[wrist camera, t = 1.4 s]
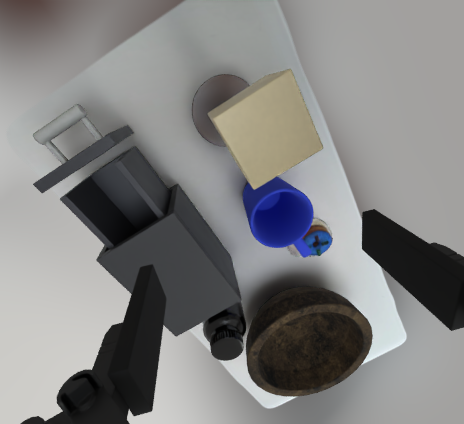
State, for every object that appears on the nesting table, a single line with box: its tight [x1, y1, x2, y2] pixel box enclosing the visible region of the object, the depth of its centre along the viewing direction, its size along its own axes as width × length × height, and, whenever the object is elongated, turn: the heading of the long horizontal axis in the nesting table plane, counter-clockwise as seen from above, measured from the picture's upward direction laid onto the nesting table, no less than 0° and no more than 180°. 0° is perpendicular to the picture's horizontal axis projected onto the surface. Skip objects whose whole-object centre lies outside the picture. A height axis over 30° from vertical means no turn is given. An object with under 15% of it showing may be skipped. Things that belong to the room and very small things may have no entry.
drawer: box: [33, 104, 171, 249], centre depth 33 cm, size 19×10×9 cm, turn 30°
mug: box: [243, 177, 313, 257], centre depth 38 cm, size 8×12×10 cm
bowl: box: [246, 287, 373, 396], centre depth 49 cm, size 22×22×10 cm
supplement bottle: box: [203, 301, 246, 361], centre depth 43 cm, size 7×7×12 cm
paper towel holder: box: [192, 74, 250, 147], centre depth 28 cm, size 9×9×18 cm
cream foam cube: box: [208, 69, 323, 190], centre depth 18 cm, size 5×5×5 cm
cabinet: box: [97, 184, 241, 336], centre depth 38 cm, size 16×11×11 cm
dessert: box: [288, 218, 333, 257], centre depth 46 cm, size 8×7×6 cm
